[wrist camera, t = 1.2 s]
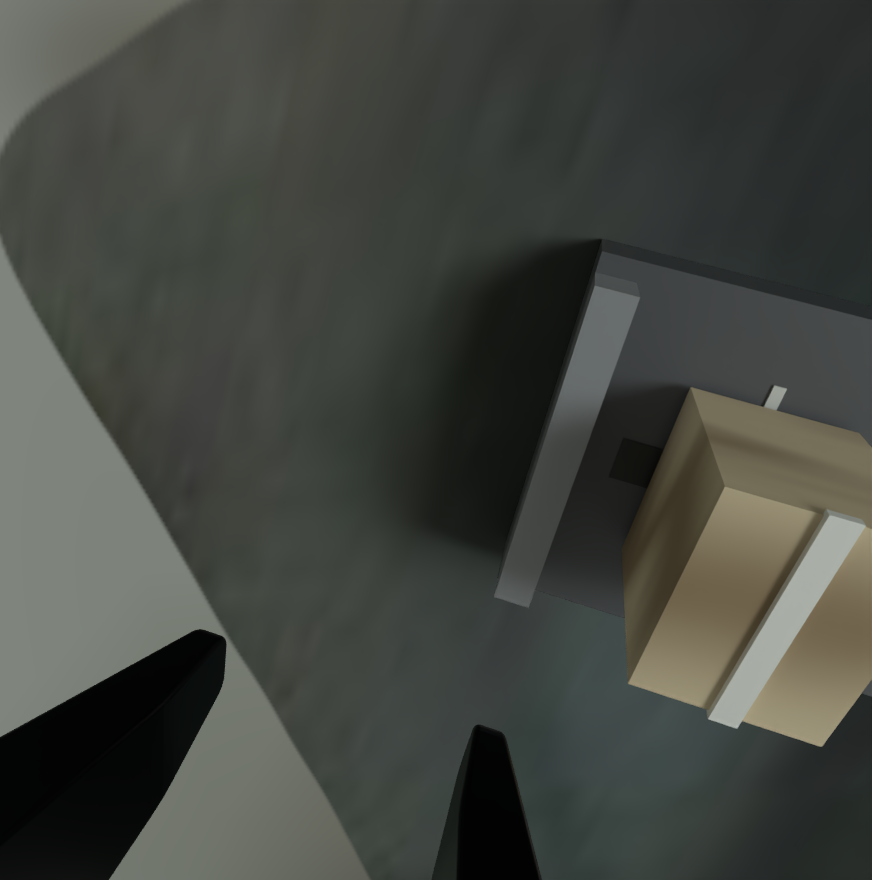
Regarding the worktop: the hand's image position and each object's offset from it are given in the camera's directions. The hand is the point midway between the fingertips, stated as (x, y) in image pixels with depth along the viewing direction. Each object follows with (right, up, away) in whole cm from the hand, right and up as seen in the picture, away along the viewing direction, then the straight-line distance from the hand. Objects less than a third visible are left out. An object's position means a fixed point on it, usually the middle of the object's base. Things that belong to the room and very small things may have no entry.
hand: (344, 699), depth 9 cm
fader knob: (+9, +2, +8) cm, 12 cm away
